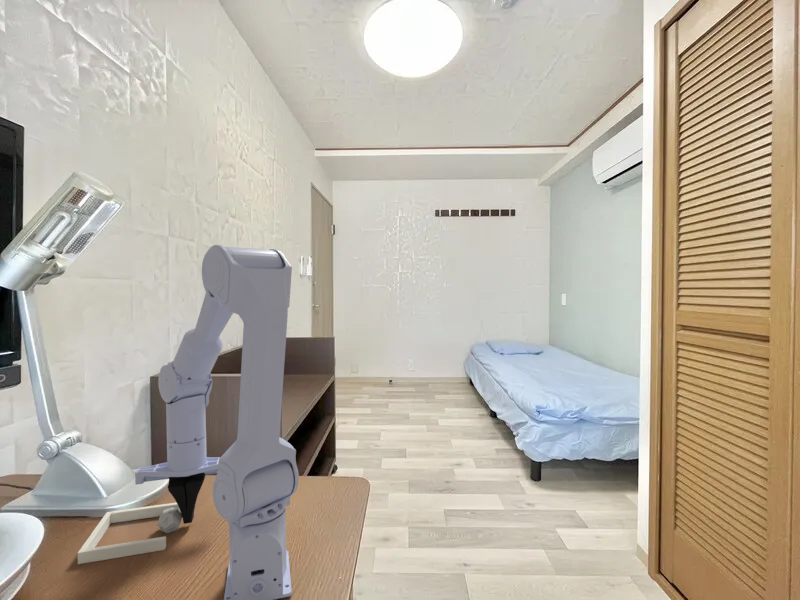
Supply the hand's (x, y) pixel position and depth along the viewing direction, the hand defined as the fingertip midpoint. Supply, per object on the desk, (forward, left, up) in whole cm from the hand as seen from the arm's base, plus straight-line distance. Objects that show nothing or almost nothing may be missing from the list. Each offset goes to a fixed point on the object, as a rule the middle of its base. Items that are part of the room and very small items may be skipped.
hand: (188, 520), depth 71 cm
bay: (0, +7, -1) cm, 7 cm away
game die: (0, +3, -1) cm, 3 cm away
